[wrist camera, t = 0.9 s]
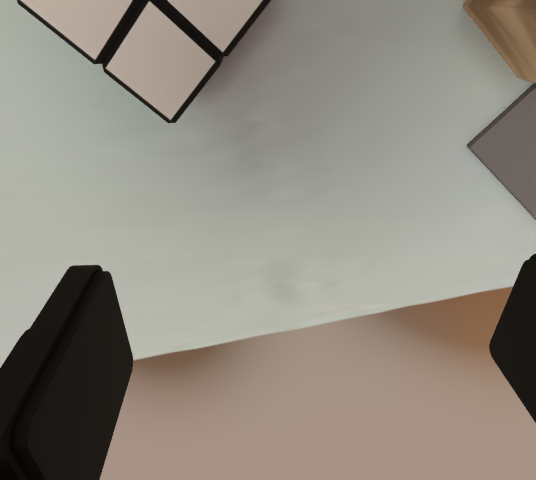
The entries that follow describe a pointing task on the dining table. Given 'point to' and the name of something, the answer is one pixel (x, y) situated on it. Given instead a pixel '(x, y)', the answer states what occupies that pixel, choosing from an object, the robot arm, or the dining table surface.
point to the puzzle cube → (152, 42)
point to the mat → (512, 149)
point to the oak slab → (509, 31)
